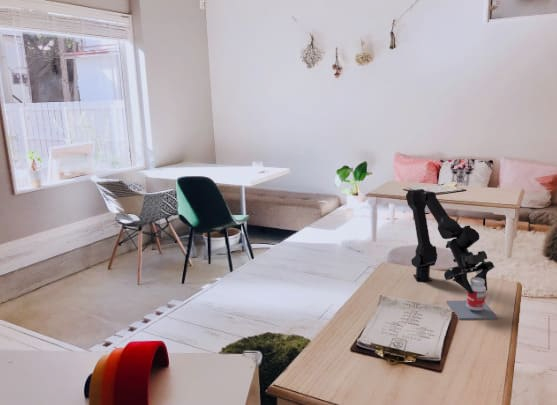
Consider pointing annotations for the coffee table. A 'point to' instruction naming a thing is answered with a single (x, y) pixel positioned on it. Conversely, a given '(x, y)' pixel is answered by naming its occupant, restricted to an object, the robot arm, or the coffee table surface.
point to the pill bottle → (476, 294)
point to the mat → (471, 311)
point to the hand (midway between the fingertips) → (479, 292)
